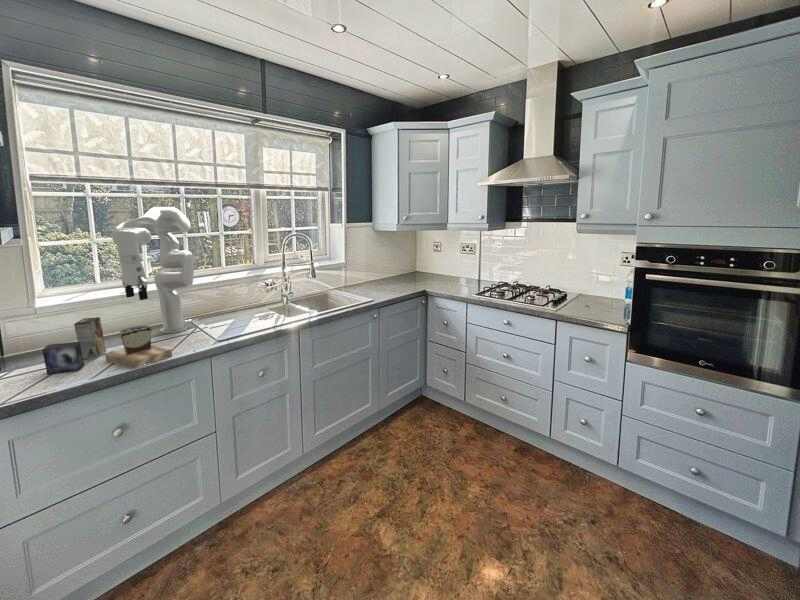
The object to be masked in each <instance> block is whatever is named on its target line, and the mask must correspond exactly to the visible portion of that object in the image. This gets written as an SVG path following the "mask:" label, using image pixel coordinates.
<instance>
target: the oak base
mask: <svg viewBox="0 0 800 600" xmlns="http://www.w3.org/2000/svg"><path fill="white" fill-rule="evenodd" d="M172 352H173V351H172V349H171V348H166V347H162V346H158V345H154V344H151V349H150V350H146V351H142V352H139V353H135V354H131V355H126V352H125V348H121V349H118V350H114V351H110V352H107V353H105V360H106V361H107V362H109V363H113V364H115V365H116V364H117V365H119V364H120V365H119V366H123V365H124V366H123V367H126V366H127V367H126V368H129V367H131V368H130V369H133V368H135V367H138V366H141V365H144V364H147V365H149V364H148V363H150V364H151V362H153V363H155V362H154V361H156V362H158V361H157V360H159V361H161V360H160V359H162V360H164V359H163V358H165V359H167V358H166V357H168V358H171V357H173V353H172ZM170 356H171V357H170ZM144 366H145V365H144ZM141 367H142V366H141ZM138 368H139V367H138ZM135 369H136V368H135Z"/></svg>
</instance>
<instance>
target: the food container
mask: <svg viewBox="0 0 800 600" xmlns="http://www.w3.org/2000/svg"><path fill="white" fill-rule="evenodd" d="M151 331H152V332H153V328H152V327H151V325H136V326H130V327H127V328H124V329H122V330H120V331H119V335H118V337H119V338H120V339H121V341H122V344H123V347H124V348H125V352H126V355H131V354H135V353H139V352H142V351H146V350H150V349H151V345H152V332H151ZM124 348H123V349H124Z"/></svg>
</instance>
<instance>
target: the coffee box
mask: <svg viewBox="0 0 800 600" xmlns="http://www.w3.org/2000/svg"><path fill="white" fill-rule="evenodd" d="M73 324H74V330H75V333H76V340H77V342H79V341H80V346H81V351H82V357H83V360H90V359H89V358H92V359H99V358H100V357H101V356H102V355H103V354H104V353H105V352H107V349H106V343H105V338H104V334H103V327H102V322H101V317H100V316H98V317H86V318H81V319H80V320H78V321H77V322H75V323H73Z"/></svg>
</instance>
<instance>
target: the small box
mask: <svg viewBox="0 0 800 600" xmlns="http://www.w3.org/2000/svg"><path fill="white" fill-rule="evenodd" d="M41 350H42V351H41V352H42V355H43V360H44V365H45V369H46V375H54V374H55V375H56V374H63V372H64V373H71V371H72V372H78V371H77V370H80V369H81V368H82V367H85V363H84V359H83V357H82V351H81V346H80V341H79V342H78V341H69V342H64V343H51V344H47V345H46V346H45V347H43V348H42V349H41ZM81 370H82V369H81ZM81 370H80V371H81Z"/></svg>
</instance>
